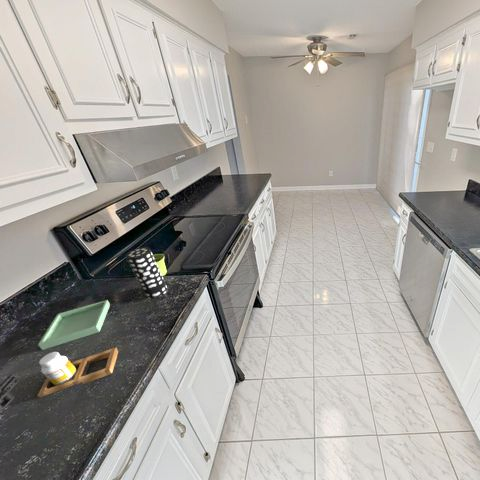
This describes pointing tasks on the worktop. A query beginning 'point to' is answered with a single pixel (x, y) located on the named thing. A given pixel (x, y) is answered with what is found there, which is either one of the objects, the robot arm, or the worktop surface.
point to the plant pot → (160, 263)
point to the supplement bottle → (57, 368)
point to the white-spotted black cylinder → (147, 272)
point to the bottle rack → (82, 363)
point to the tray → (75, 324)
